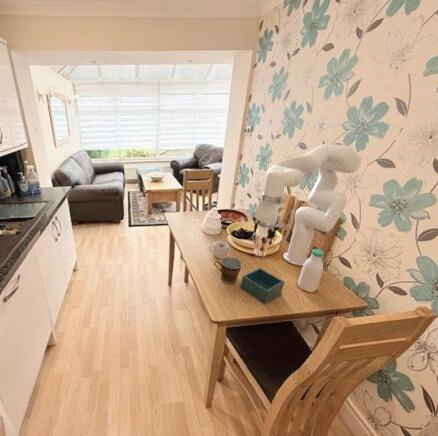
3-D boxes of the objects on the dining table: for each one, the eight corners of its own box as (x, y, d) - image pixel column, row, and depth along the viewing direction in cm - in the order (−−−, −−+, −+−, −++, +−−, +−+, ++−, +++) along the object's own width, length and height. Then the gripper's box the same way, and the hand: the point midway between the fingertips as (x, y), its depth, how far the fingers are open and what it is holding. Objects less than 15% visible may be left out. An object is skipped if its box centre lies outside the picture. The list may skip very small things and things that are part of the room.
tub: (257, 278, 120) (259, 267, 117) (281, 293, 110) (284, 281, 107) (240, 287, 114) (242, 275, 111) (264, 303, 104) (267, 291, 101)
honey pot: (222, 234, 164) (226, 210, 157) (204, 234, 164) (206, 210, 157) (218, 226, 176) (221, 203, 168) (200, 226, 176) (202, 203, 169)
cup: (207, 257, 138) (208, 245, 135) (209, 250, 145) (210, 239, 142) (226, 261, 134) (228, 249, 131) (227, 254, 141) (229, 242, 138)
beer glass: (268, 257, 111) (275, 229, 105) (253, 256, 112) (258, 227, 106) (265, 250, 117) (271, 222, 111) (250, 248, 119) (256, 221, 113)
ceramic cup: (239, 275, 123) (242, 259, 119) (238, 287, 114) (242, 270, 110) (213, 270, 127) (215, 254, 123) (211, 281, 118) (213, 265, 114)
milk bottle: (316, 294, 109) (329, 258, 101) (297, 288, 113) (308, 252, 105) (316, 285, 115) (328, 249, 107) (297, 280, 119) (308, 245, 111)
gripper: (296, 203, 98) (286, 240, 106) (259, 192, 112) (253, 226, 119) (285, 206, 95) (275, 244, 102) (249, 194, 109) (242, 229, 116)
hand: (263, 234), depth 111 cm, fingers closed on beer glass, 7 cm apart
